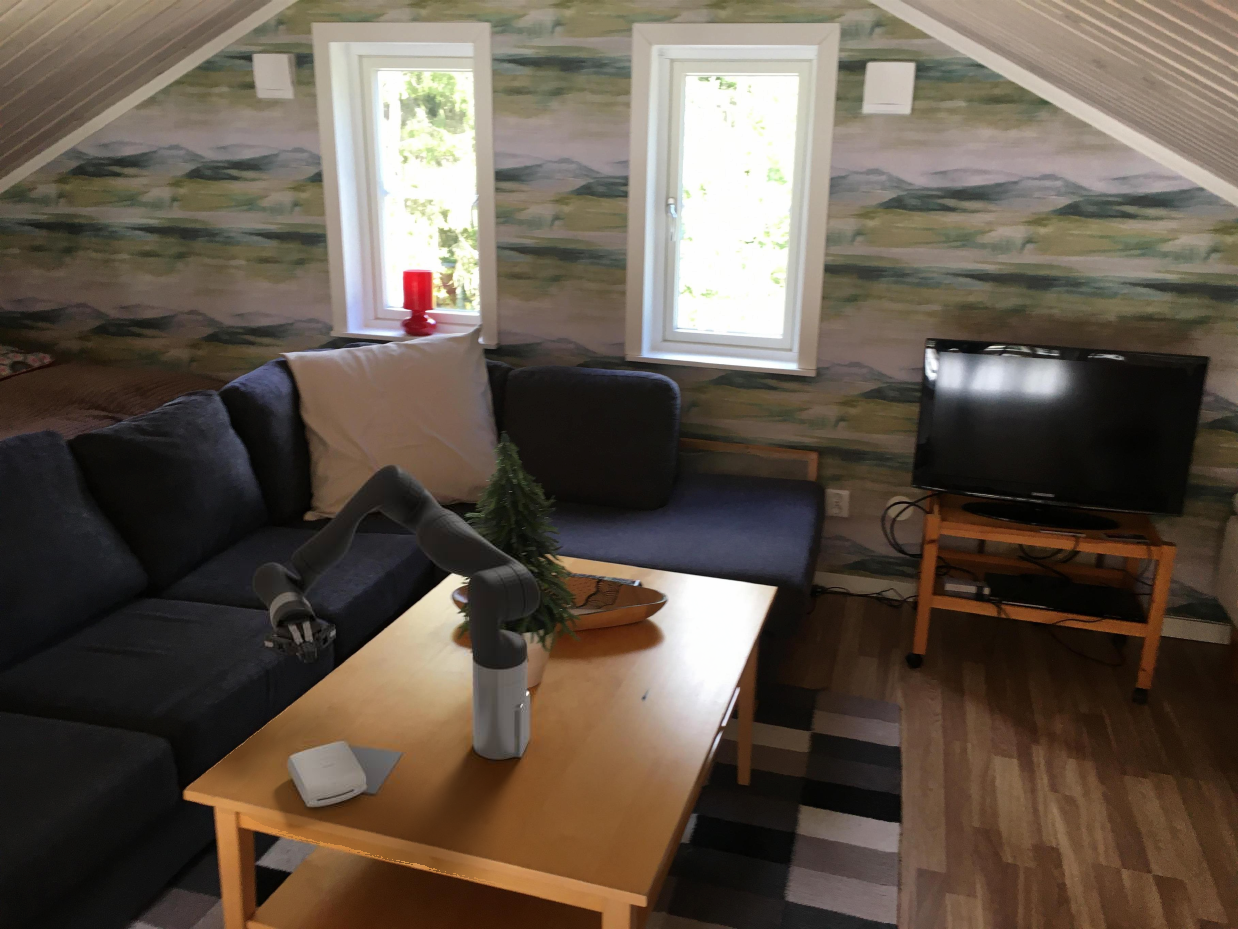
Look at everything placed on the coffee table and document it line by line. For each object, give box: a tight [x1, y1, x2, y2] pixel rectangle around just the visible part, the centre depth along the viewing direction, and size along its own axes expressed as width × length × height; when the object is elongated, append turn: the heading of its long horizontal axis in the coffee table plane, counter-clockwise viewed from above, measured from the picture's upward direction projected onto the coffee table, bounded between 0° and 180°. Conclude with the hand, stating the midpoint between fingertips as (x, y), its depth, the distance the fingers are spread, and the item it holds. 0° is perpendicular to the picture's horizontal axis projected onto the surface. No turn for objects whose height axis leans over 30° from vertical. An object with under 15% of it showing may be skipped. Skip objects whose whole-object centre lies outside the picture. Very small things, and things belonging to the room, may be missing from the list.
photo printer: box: [286, 740, 367, 808], centre depth 165 cm, size 10×4×12 cm
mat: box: [348, 744, 404, 796], centre depth 171 cm, size 11×12×1 cm
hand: (309, 657), depth 177 cm, fingers closed
